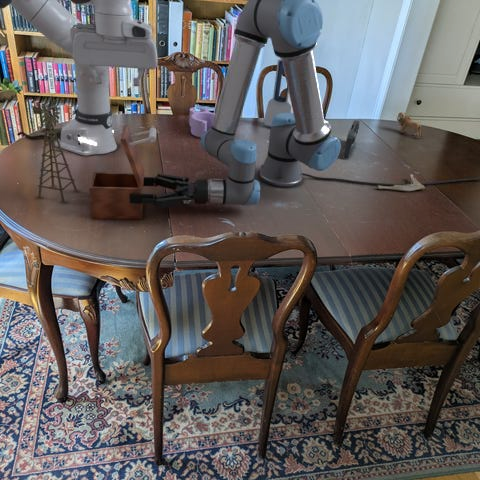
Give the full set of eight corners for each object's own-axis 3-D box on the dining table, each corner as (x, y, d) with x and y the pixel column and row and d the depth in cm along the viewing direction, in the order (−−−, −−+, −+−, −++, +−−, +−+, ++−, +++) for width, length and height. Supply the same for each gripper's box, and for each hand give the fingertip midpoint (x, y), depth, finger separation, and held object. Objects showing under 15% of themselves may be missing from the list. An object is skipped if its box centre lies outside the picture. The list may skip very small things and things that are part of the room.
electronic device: (292, 127, 215) (303, 59, 199) (288, 132, 209) (299, 62, 192) (267, 122, 218) (275, 54, 201) (262, 126, 212) (270, 57, 195)
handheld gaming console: (349, 160, 187) (354, 136, 182) (342, 158, 188) (347, 134, 183) (355, 142, 206) (361, 119, 201) (349, 140, 207) (354, 118, 201)
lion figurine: (391, 130, 224) (396, 112, 219) (396, 128, 227) (401, 110, 222) (420, 139, 216) (426, 121, 211) (425, 137, 220) (431, 118, 215)
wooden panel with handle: (120, 139, 121) (152, 131, 121) (123, 126, 130) (153, 118, 130) (138, 187, 130) (168, 179, 129) (140, 171, 138) (168, 164, 138)
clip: (182, 123, 206) (183, 107, 202) (209, 122, 210) (210, 106, 207) (197, 140, 191) (197, 123, 187) (225, 138, 195) (226, 122, 191)
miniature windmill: (63, 202, 138) (50, 102, 122) (36, 197, 139) (20, 97, 123) (78, 189, 146) (67, 93, 130) (53, 185, 147) (39, 89, 131)
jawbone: (429, 189, 172) (431, 184, 171) (394, 201, 161) (396, 196, 160) (410, 177, 177) (412, 172, 176) (375, 189, 167) (376, 184, 165)
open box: (91, 218, 133) (88, 187, 128) (96, 201, 141) (93, 171, 136) (141, 219, 135) (141, 189, 130) (143, 202, 144) (142, 173, 138)
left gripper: (66, 24, 107) (72, 85, 115) (157, 31, 110) (157, 90, 118) (71, 20, 112) (77, 78, 120) (157, 26, 115) (158, 83, 123)
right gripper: (209, 222, 131) (128, 220, 128) (204, 185, 150) (134, 183, 147) (211, 198, 127) (127, 196, 124) (205, 164, 146) (133, 161, 143)
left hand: (117, 84), depth 119 cm, fingers open, 8 cm apart
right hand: (131, 189), depth 135 cm, fingers closed on open box, 10 cm apart
